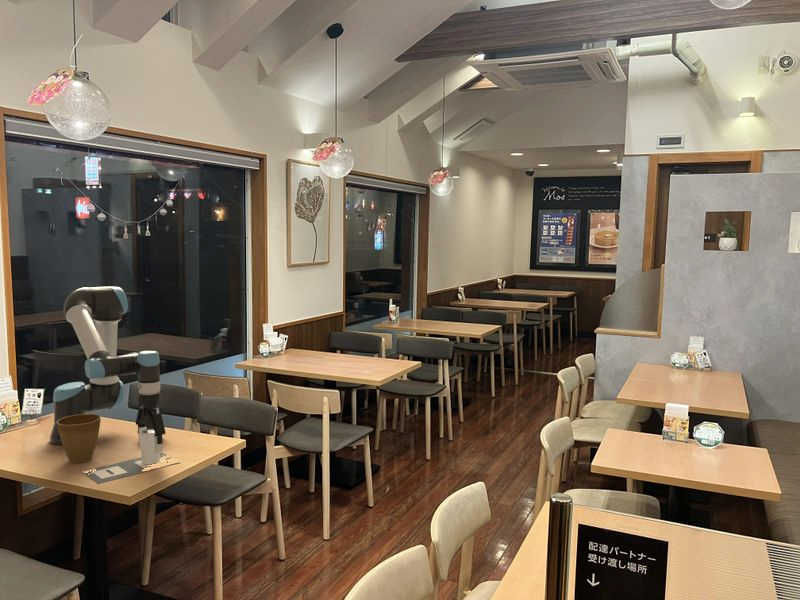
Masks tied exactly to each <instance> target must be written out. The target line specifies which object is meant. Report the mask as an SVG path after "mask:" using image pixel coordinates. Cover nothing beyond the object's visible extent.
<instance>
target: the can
mask: <svg viewBox="0 0 800 600" xmlns="http://www.w3.org/2000/svg"><path fill="white" fill-rule="evenodd" d="M154 435H155V432H154V429H147V430H144V431H142V435H141V445H140V447H141V457H142V463H143V464H145V465H152V464H156V463H158V462H159V461H160V453H161V452H159V453H155V442H154Z"/></svg>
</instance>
